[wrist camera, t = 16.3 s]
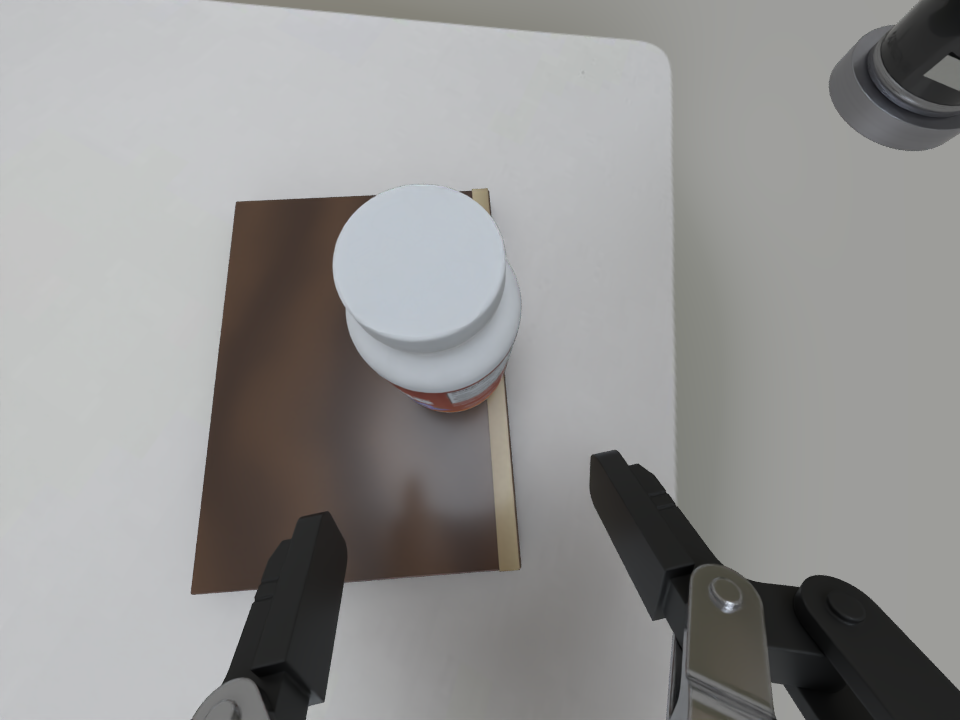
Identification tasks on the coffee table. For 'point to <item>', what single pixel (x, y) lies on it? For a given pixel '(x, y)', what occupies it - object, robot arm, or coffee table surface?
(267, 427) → the board
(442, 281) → the pill bottle
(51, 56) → the coffee table surface
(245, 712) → the robot arm
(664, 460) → the coffee table surface
